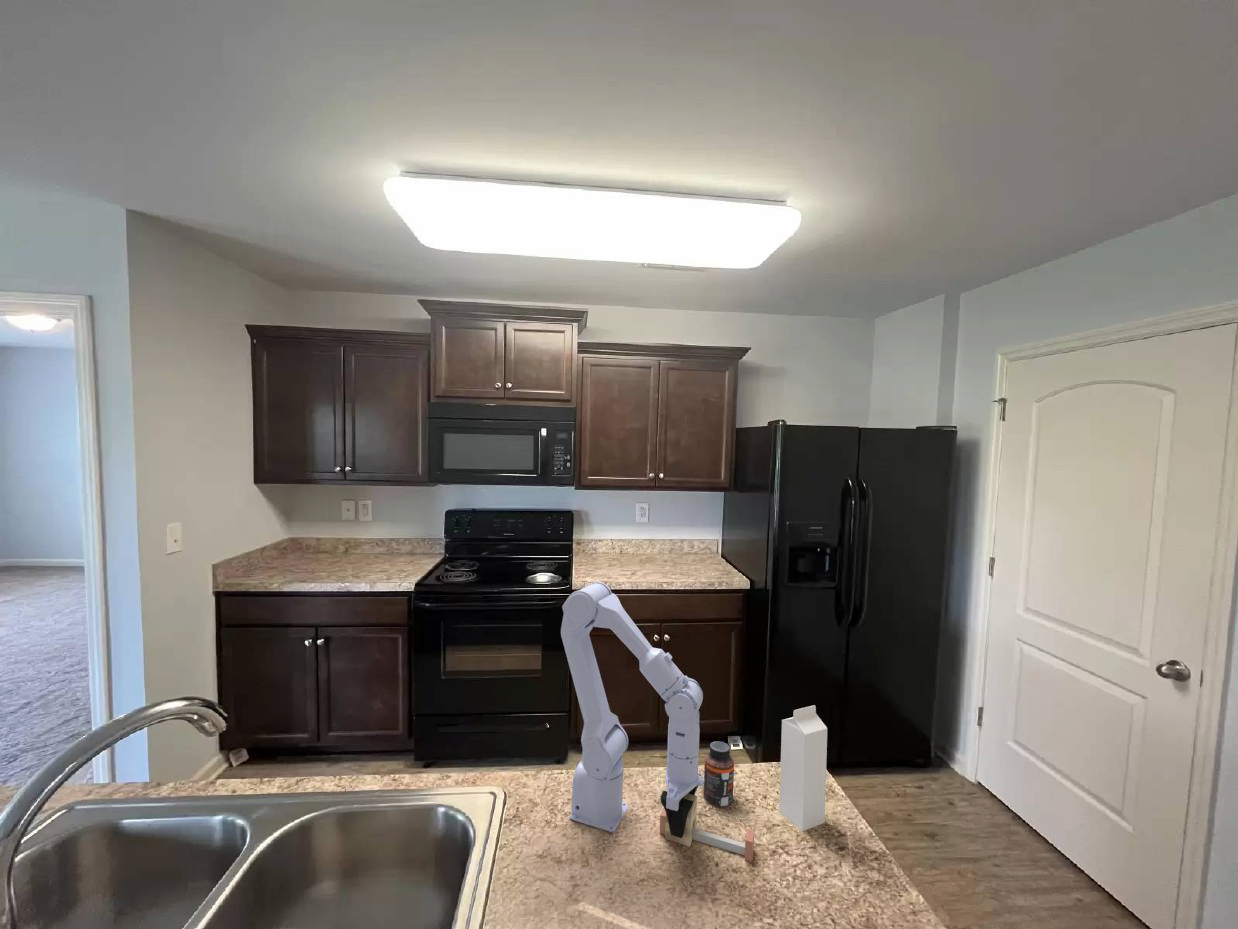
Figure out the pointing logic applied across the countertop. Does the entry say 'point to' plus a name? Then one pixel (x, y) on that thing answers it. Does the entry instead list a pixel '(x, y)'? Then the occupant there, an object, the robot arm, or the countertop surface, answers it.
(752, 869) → the countertop surface
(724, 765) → the supplement bottle
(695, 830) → the rail board
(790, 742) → the milk
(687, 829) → the slider block
